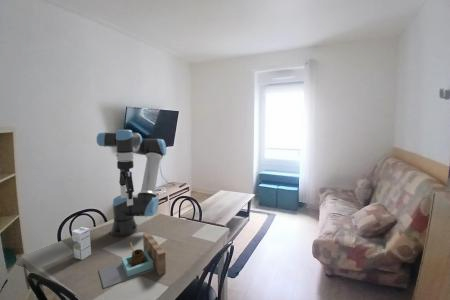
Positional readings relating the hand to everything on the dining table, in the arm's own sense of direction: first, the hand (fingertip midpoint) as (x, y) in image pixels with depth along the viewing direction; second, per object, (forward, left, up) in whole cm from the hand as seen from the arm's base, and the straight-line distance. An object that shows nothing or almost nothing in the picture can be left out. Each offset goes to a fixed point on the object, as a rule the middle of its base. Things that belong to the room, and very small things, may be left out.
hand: (126, 201), depth 117 cm
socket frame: (+14, +1, -29) cm, 32 cm away
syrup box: (-11, -20, -29) cm, 37 cm away
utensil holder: (+14, +1, -28) cm, 32 cm away
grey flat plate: (+14, -4, -29) cm, 32 cm away
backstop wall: (+14, +9, -29) cm, 33 cm away
